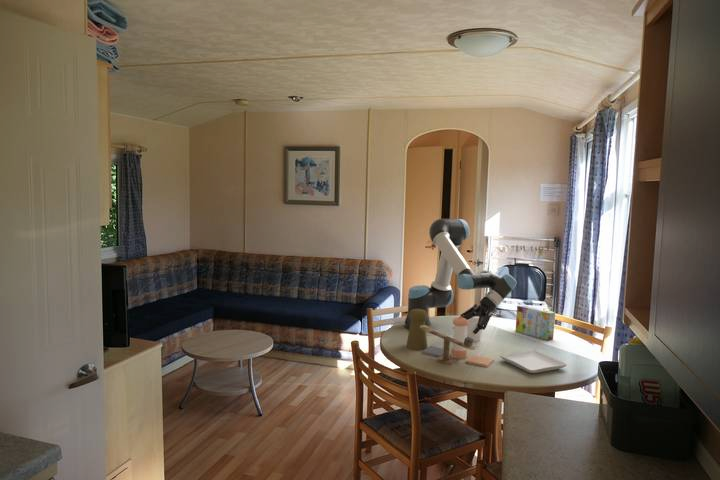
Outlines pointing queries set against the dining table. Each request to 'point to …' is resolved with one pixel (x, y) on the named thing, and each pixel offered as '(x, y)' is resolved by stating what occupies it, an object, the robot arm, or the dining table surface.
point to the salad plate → (533, 361)
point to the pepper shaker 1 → (417, 330)
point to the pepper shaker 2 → (459, 337)
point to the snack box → (535, 322)
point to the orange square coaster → (480, 360)
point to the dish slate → (433, 351)
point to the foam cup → (471, 324)
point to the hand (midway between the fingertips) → (461, 333)
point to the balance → (447, 340)
